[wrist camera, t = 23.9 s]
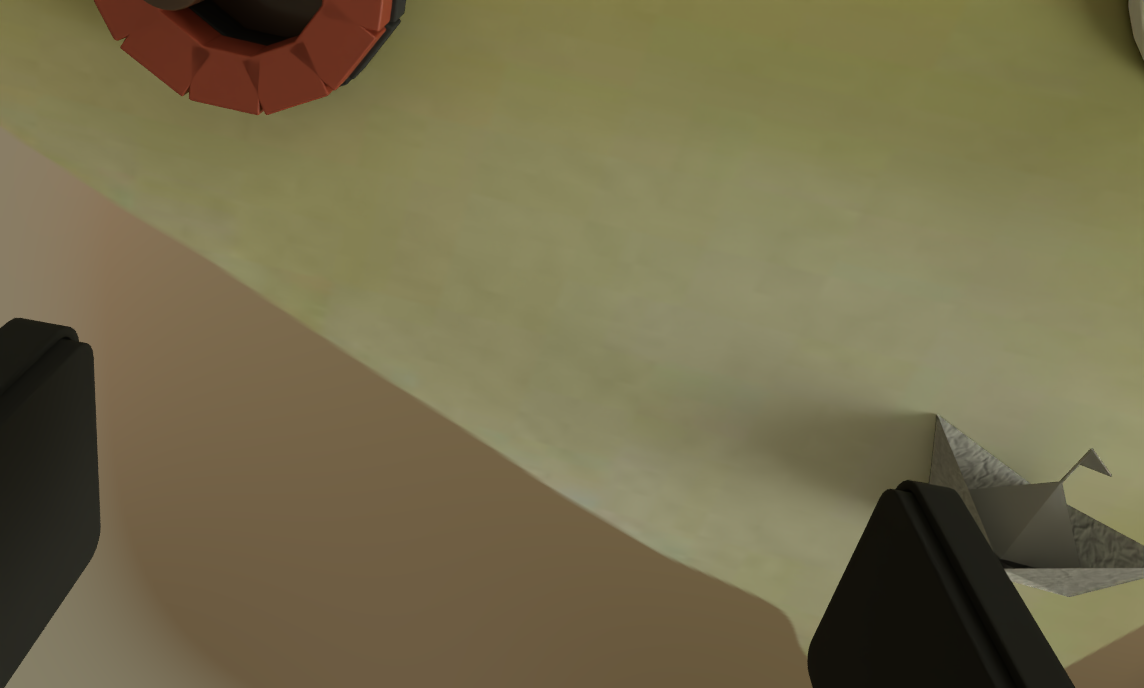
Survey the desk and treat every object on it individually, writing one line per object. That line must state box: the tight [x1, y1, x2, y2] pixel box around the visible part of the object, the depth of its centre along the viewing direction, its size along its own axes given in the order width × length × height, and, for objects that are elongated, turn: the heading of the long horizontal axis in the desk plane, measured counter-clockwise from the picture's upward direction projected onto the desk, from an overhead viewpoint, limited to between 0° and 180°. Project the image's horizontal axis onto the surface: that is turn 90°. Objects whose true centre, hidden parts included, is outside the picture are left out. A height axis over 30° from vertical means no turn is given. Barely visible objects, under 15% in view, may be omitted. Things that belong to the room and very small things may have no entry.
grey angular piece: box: [929, 415, 1144, 597], centre depth 43 cm, size 12×6×9 cm
